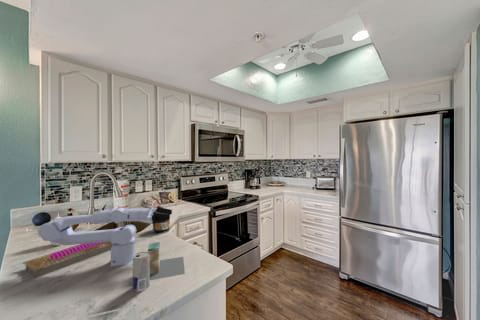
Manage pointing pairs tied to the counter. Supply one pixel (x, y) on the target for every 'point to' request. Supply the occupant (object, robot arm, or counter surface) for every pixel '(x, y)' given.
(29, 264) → the brown long flat block
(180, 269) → the rubber mat
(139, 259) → the energy drink
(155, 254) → the oak block
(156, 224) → the supplement container
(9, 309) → the counter surface
